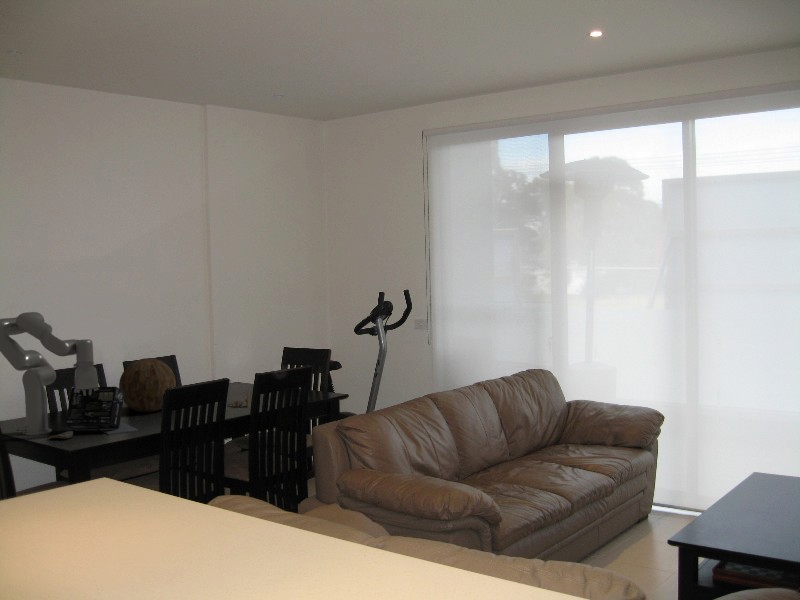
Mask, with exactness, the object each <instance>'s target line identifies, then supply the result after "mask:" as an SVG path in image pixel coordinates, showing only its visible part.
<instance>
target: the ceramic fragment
mask: <svg viewBox="0 0 800 600" xmlns="http://www.w3.org/2000/svg"><path fill="white" fill-rule="evenodd" d="M73 436H74V431H73V430H68V431H65V432H62V433H59V434H56V435H50V436H49V437H48V438H49V439H56V438H59V439H70V438H72V437H73Z"/></svg>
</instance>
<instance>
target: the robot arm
mask: <svg viewBox="0 0 800 600" xmlns="http://www.w3.org/2000/svg"><path fill="white" fill-rule="evenodd" d="M25 333H27V334H29V335H30V336H32V337H33V338H35V339H36V340H39V342H40V343H41V345H42V346H43V348H44V349H45V350H47V351H49V352H50V353H52V354H54V355H56V356H57V357H67V356H76V359H75V360H76V363H73V367H74V368H75V371H74V383H73V384H74V387H75V392H77V393H81V394H82V395H83V401H84V402H85V404H90V402H91V394H92V393H93V392H94V391H97V390H98V387H99V377H98V371H97V368H96V367H95V366H94V365H95V363H94V347H93V346H94V345H93V340H91V339H87V338H86V339H71V338H70V339H64V340H63V339H60V338H59V337H57V336H55V335H53V334H52V333H53V327H52V326H51V325H50V324H49V323H47V322H46V321H45V318H44V316H43V314H42V313H40V312H37V311H30V312H22V313H20V314H19V315H17V316H16V317H7V318H0V353H1V354H2V355H3V357H4V358H5V359H6V360H7V362H9V364H10V365H11V367H12V368H13V369H15V370H16V371H19V372H21V371H22V372H23V371H25V372H24V373H23V375H22V378H21V380H22V386H23V389H24V391H23V392H24V403H25V423H24V425H22V426H15V428H14V429H15V432H22V434H23V435H24V434H25V435H24V436H39V435H46V434H49V433H52V431H53V430H52V428H49V423H48V421H49V420H48V417H49V416H48V414H49V413H48V397H47V391H46V388H45V386H48V385H52V384H53V383H54V382H55V381H56V379H57V372H56V370H55V368H54V367H53V366H52V365H51V364H50V363H49V362H48V360H47V359H46V358H45V357H44V356H43V354H41V353H40V352H39V351H37V350H34V349H26V350H25V349H24V348H23V347H22V346H21V345H20V344H19V343H18V341H16V339H13V338H12V337H11V336H16V335H21V334H25ZM86 389H88V393H87V394H86V391H85V390H86Z"/></svg>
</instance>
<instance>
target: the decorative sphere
mask: <svg viewBox="0 0 800 600" xmlns="http://www.w3.org/2000/svg"><path fill="white" fill-rule="evenodd" d="M172 387H176V388H177V380H176V375H175V373H174V372H173V369H172V368H171V367H170V366H169V365H168V364H167V363H165V362H164V361H162V360H159V359H157V358H151V357H150V358H149V357H147V358H141V359H138V360H135V361H132V362H131V363H130V364H129V365H128V366H127V367H126V368H125V369H124V370H123V372H122V373H121V376H120V378H119V383H118V388H119V389H121V390H123V391H124V392H125V393H124V400H123V403H124V404H125V405H126V406H127V407H129V408H130V409H132V410H134V411H135V412H138V413H143V412H147V413H155V412H158V411H160V410H162V409H163V408H162V405H163V395H164V393H165V390H166V389H168V388H172Z"/></svg>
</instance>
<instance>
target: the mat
mask: <svg viewBox="0 0 800 600" xmlns="http://www.w3.org/2000/svg"><path fill="white" fill-rule="evenodd" d="M98 430H99V431H100V432H102V433H105V434H107V435H109V436H111V435H120V434H125V433H135V432H139V431H140V430H139V428H136V427H133V426H132V425H129V424H127V423H125V422H120V426H119V428H118V429H98Z"/></svg>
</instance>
